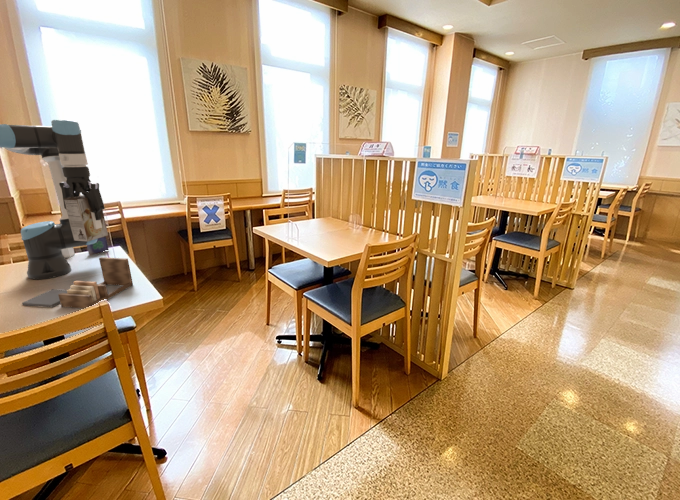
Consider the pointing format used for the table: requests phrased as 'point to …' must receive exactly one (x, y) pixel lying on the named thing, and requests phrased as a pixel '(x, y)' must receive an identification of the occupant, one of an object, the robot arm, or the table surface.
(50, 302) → the rubber mat
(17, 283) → the table surface
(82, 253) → the table surface
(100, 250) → the flask
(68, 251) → the jar
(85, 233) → the coffee box
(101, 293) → the walnut rack
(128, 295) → the table surface
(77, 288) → the offcut stack
